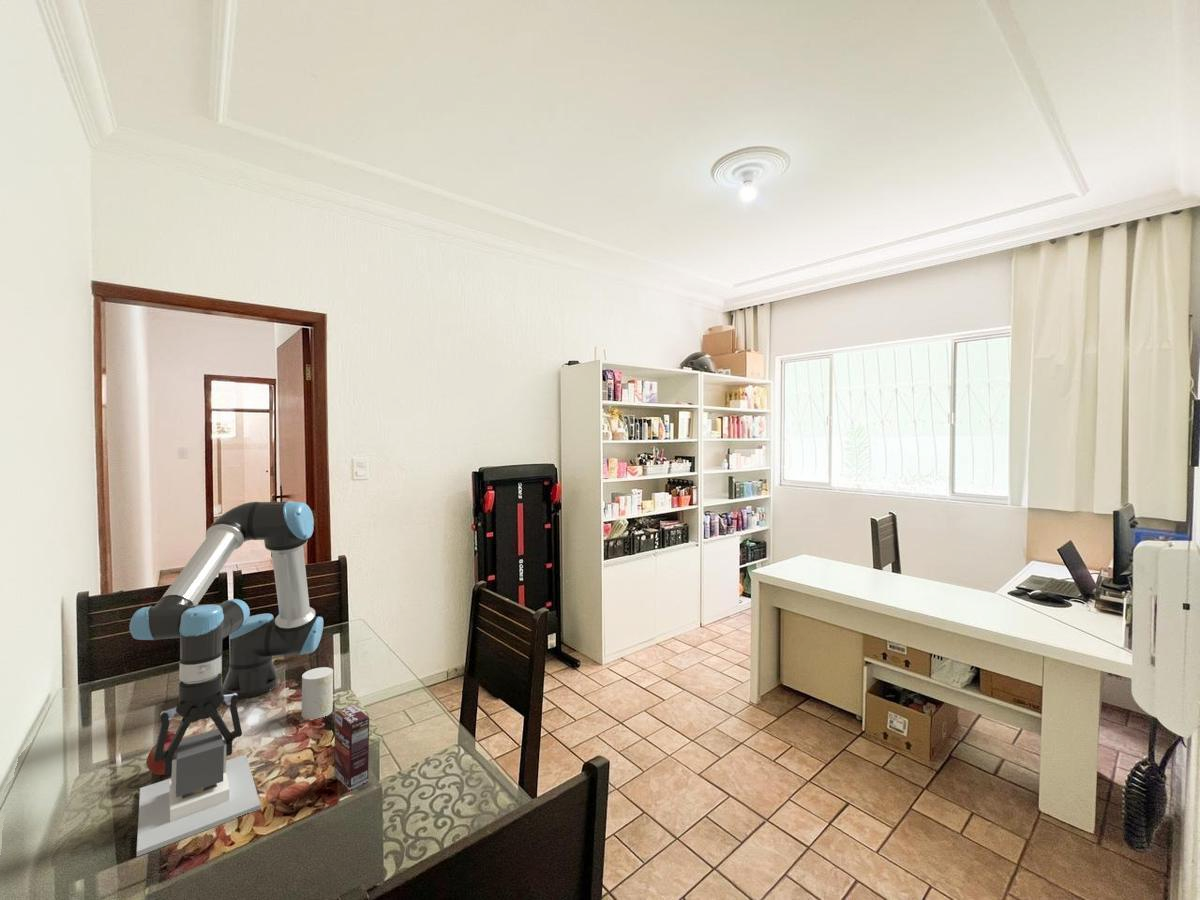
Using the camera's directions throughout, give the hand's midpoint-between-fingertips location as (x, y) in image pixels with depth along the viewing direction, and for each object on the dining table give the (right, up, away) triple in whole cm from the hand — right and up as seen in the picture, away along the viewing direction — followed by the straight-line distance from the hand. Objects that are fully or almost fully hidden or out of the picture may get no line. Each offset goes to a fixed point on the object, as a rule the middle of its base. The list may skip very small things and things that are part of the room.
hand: (199, 778), depth 113 cm
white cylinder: (+5, -5, +38) cm, 39 cm away
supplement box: (+30, -6, +8) cm, 32 cm away
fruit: (-15, -5, +9) cm, 19 cm away
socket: (0, -5, 0) cm, 5 cm away
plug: (0, -2, 0) cm, 2 cm away
